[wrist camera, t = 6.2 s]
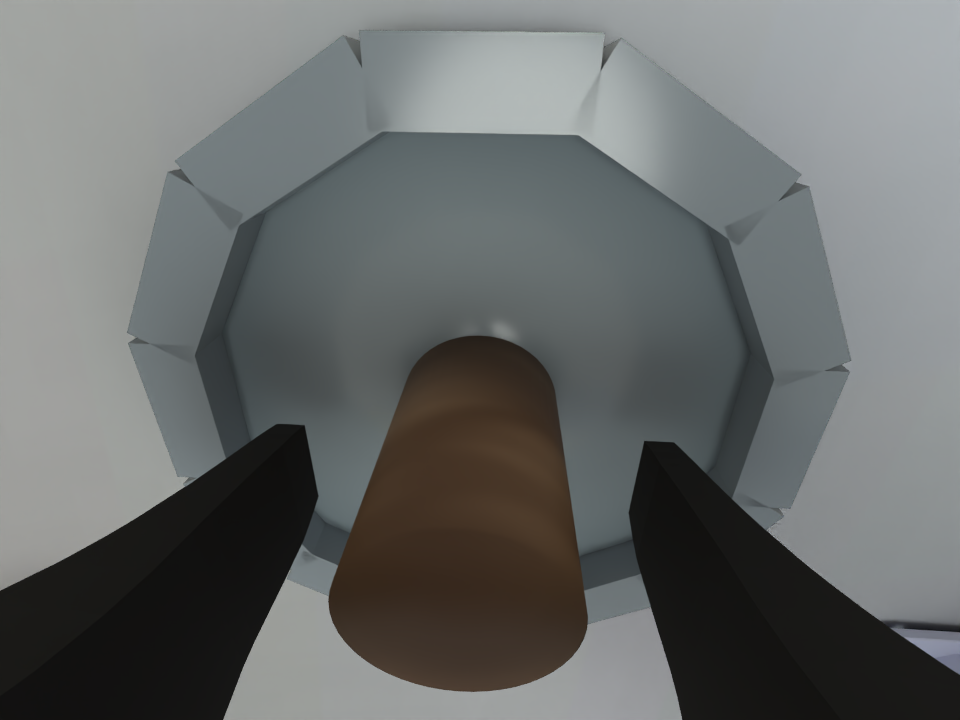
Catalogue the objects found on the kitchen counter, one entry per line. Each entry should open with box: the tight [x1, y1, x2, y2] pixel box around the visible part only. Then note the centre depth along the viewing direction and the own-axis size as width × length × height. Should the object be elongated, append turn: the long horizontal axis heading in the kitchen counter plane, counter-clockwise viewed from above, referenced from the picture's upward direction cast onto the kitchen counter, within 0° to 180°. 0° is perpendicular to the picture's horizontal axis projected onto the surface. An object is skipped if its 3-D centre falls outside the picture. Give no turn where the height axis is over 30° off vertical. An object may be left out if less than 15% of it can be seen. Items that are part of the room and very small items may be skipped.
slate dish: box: [127, 30, 851, 624], centre depth 13 cm, size 16×16×2 cm
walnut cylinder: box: [328, 336, 588, 692], centre depth 10 cm, size 4×4×6 cm
